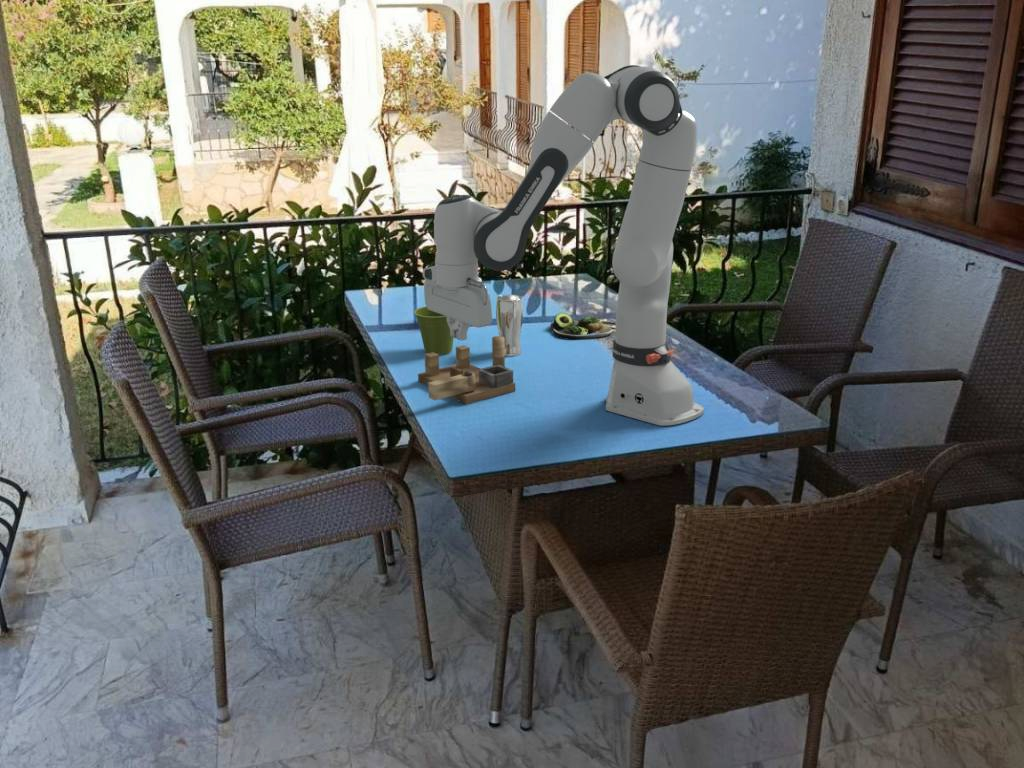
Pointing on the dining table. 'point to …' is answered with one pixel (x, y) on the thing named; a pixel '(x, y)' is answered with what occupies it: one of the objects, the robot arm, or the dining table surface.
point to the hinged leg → (452, 386)
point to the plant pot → (434, 331)
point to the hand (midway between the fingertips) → (458, 338)
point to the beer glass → (510, 322)
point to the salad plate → (579, 327)
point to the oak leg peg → (498, 350)
